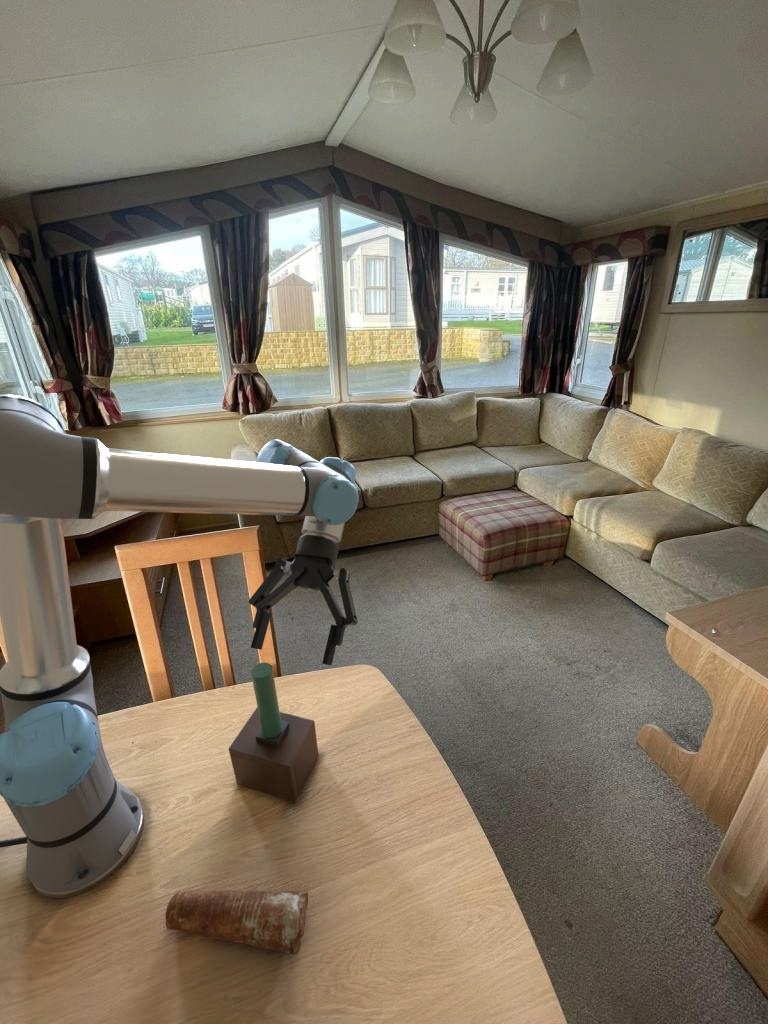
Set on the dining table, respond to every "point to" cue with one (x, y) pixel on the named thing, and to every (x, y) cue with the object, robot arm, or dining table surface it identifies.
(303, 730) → the dark brown wooden cube
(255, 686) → the green handled tool
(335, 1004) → the dining table surface
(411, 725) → the dining table surface
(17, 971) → the dining table surface
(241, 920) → the brown cylinder
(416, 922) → the dining table surface
